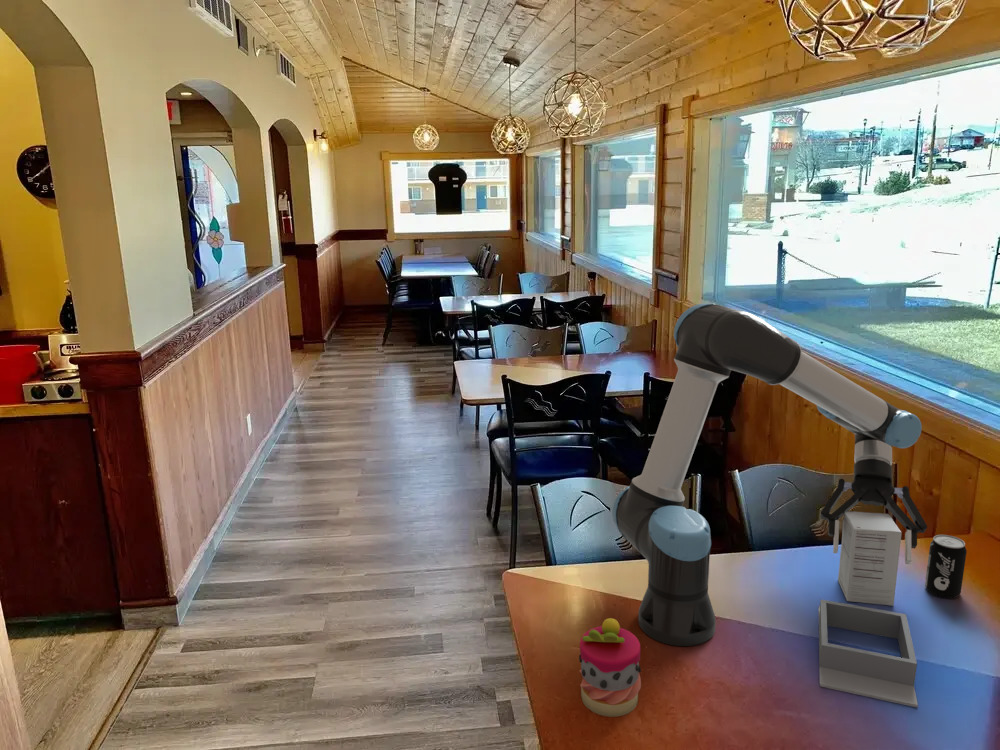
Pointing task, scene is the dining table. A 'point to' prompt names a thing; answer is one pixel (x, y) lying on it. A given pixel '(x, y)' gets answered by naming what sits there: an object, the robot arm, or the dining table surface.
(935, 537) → the beverage can
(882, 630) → the grey open box
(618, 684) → the cake
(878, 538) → the supplement box
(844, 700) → the dining table surface
